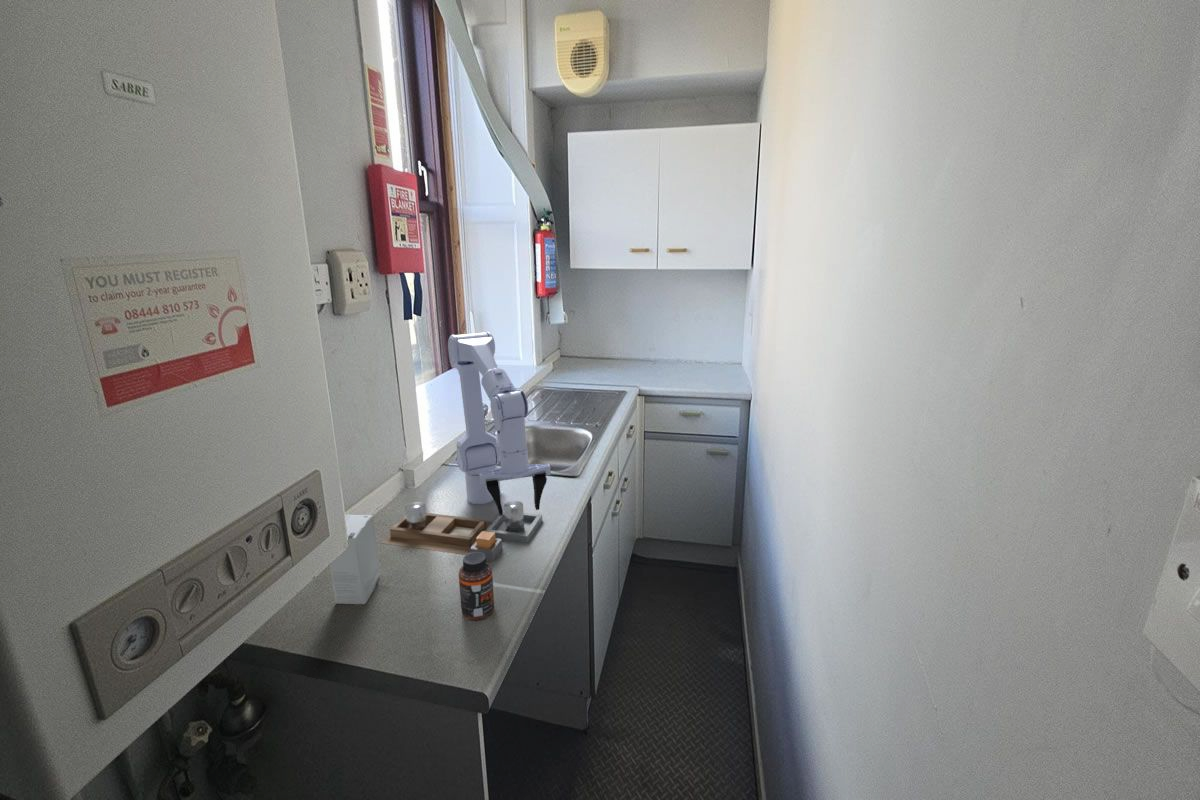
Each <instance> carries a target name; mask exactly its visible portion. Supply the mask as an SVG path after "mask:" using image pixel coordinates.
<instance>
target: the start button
mask: <svg viewBox="0 0 1200 800" xmlns="http://www.w3.org/2000/svg"><path fill="white" fill-rule="evenodd" d="M495 538H496V537H495V533H494V532H487V531H482V532H481V533H480V534H479V535H478V536H477V538H476V544H477V547H478V548H485V549H491V548H492V547H493V545H494V544H495V543H496V539H495Z"/></svg>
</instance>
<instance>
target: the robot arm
mask: <svg viewBox="0 0 1200 800" xmlns="http://www.w3.org/2000/svg"><path fill="white" fill-rule="evenodd" d="M447 340H448V341H447V351H448V358H449V359H448V360H449V364H450V367H451V368H452V369H456V370H457V371H458V374H459V381H460V389H461V397H462V398H461V399H462V406H463V415H464V422H465V431H466V432H465V433H464V434H463V435H462V436H461V437H460V438H459V439H458V440H457V441H456V444H455V445H456V461H457V467H458V469H459V470H460V471H461V472H462V473H464V478H465V488H466V501H467V502H469V503H470V504H473V505H485V504H488V503H491V502H492V501H494V502H495V506H496V509H497V511H498V516H502V515H503V512H502V511H503V507H502V502H501V495H502V494H503V493H504V490H501V482H502V481H508V480H517V479H523V478H524V479H525V478H529V477H532V484H533V496H534V497H533V501H534V508H535V511H540V503H541V500H542V495H543V492H544V488H545V486H546V484H547V480H548V478H547V476H551V474H552V473H551V472H552V471H551V466H550V463H541V464H539V463H538V464H537V463H536V464H529V456H528V455H529V454H528V443H527V432H526V423H525V421H526V419H525V418H527V417H528V414H529V404H528V399H527V396H526V393H525V392H524V390H523V389H522V388H521V389H519V387H515V386H514V384H513V382H512V381H511V379H510V377H509V376H508V374H507V372H506V371H505V370H504V369H502V368H499V367H498V365H497V363H496V361H495V358H494V357H495V354H496V342H495V338H494V336H493V334H492V333H491V332H490V331H488V330H487V331H485V332H476V333H475V332H474V333H464V334H451V335H450V336H449V338H448V339H447ZM480 375H481V377H482V378H480ZM481 386H482V388H483V390H484V392H485V394H486V396H487V398H488V400H489V401H490V403H489V405H490V411H491V416H492V418H493V424H494V429H495V430H496V432H497V438H496V436H495V435H493V434H492V433H490V432H488V431H486V421H485V414H484V413H485V412H484V404H483V403H484V402H483V395H482V388H481ZM499 464H500V468H499V467H498V465H499Z"/></svg>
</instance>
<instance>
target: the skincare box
mask: <svg viewBox="0 0 1200 800" xmlns="http://www.w3.org/2000/svg"><path fill="white" fill-rule="evenodd" d="M344 515H345V521H346V527H347V535H348V547H347V548H346V550H345V551H344V552H343V553H342V554H341V555H340V556H339V557H338V558H337V559H336V560H335V561H333V562H332V563H331V564H330V565H329V564H328V565H329V573H330V579H331V584H332V590H333V591H332V592H333V597H334V603H335V604H338V605H340V604H342V605H365V604H366V603H367V602H368V600H369V598H370V597H371V595H372V593H373V592H374V590H375V589H376V587H377V585H378V583H377V582H378V580H379V579H380V577H381V567H380V559H379V552H378V543H377V535H376V530H375V529H376V528H375V522H374V521H375V520H374V515H371V514H344Z"/></svg>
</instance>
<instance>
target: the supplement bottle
mask: <svg viewBox="0 0 1200 800" xmlns="http://www.w3.org/2000/svg"><path fill="white" fill-rule="evenodd" d="M493 576H494V575H493V569H492V566H491V565H490V564H489V562H488V561H486V556H485V554H483V553H481V552H472V553H471V552H470V553H469V554H467V555H464V556H463V558H462V566H461V567H460V568H459V570H458V584H459V596H460V606H461V607H460V608H461V613H462V616H463V617H464V618H465V619H466V620H470V621H480V620H483V619H486V618H488V617H489V616H490V615H492V613H493V612H494V610H495V597H494V595H495V594H494V582H493V581H494V580H493Z"/></svg>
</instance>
